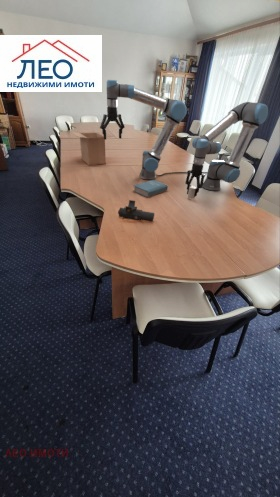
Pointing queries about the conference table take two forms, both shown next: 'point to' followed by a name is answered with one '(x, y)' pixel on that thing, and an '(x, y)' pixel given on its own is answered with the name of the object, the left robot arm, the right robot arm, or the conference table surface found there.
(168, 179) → the conference table surface
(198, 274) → the conference table surface
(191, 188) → the can
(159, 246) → the conference table surface
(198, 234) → the conference table surface
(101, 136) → the box
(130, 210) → the laser sight
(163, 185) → the book
